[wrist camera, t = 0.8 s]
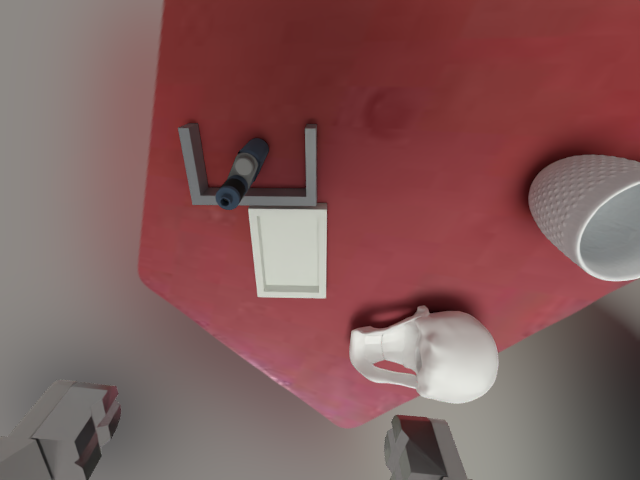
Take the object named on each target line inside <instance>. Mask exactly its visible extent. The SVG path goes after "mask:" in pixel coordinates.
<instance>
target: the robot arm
mask: <svg viewBox="0 0 640 480" xmlns="http://www.w3.org/2000/svg"><path fill="white" fill-rule="evenodd" d="M117 395H118V391H117V387H116V386H110V385H102V384H93V383H85V382H77V381H67V380H57V381H56V382H55V383H53V384H52V385H50V387H49V388H48V389H47V390H46V392H45V393H44V394H43V395H42V396H41V398H40V399H39V400H38V401H37V402H36V403H35V405H34V406H33V407H32V408H31V410H30V411H29V412H28V413H27V414H26V415H25V416H24V418H23V419H22V420H21V421H20V422H19V424H18V425H17V426H16V427H15V428H14V430H13V431H12V432H11V433H10V434H9V436H8V437H5V436H1V437H0V480H89V478H90V476H91V474H92V473H93V471H94V469H95V467H96V466H97V464H98V462H99V460H100V458H101V456H102V454H101V446H103V445H104V444H106V443H107V442H108V441H109V440H111V439H112V437H113V435H114V433H115V431H116V429H117V426H118V423H119V421H120V417H121V405H120V404H119V403H118V402H117V401H116V400H115V398H116V397H117ZM391 423H392V427H393V428H392V429H390V430H389V431H387V435H386V437H385V445H384V452H385V461H386V466H387V467H388V468H389V470H390V471H391V472H392V476H391V478H390V480H472V479H467V476H466V473H465V470H464V468H463V465H462V462H461V459H460V457H459V454H458V451H457V448H456V445H455V442H454V440H453V437H452V434H451V431H450V428H449V426H448V423H447V422H446V421H445V420H443V419H433V418H427V417H416V416H405V415H395V416H394V417H393V419H392V422H391Z"/></svg>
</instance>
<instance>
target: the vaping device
mask: <svg viewBox="0 0 640 480" xmlns="http://www.w3.org/2000/svg"><path fill="white" fill-rule="evenodd" d="M268 152H269V147H268V145H267V143H266V142H265V141H264V140H262V139H259V138H254V139H252V140H250V141H249V142H248V143H247V144H246V145H245V146H244V147H243V148H242V149H241V150H240V151H239V152H238V155H237V156H236V158H235V161H234V163H233V166H232V168H231V171H230V174H229V176H228V179H227V181H226V182H225V183H224V184H223V185H222V186H221V188H220V189H219V190H218V191H217V193H216V196H215V198H216V202H217V204H218V205H219V206H220V207H221V208H223V209H226V210H232V209H234V208H236V207H237V206H238V204H239V203H240V201H241V200H242V198H243V197H244V195H245V194H246V193H247V191H248V189H249V188H250V186H251V185H252V183H253V182H255V179H256V177H257V175H258V174H259V172H260V169H261V167H262V165H263V163H264V161H265V159H266V156H267V154H268Z"/></svg>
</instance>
